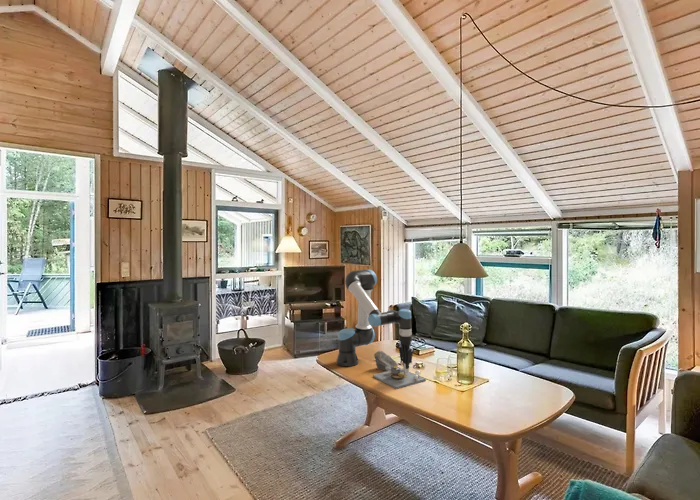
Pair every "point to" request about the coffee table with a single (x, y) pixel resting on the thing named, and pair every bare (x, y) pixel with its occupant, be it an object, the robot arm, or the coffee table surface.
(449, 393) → the coffee table surface
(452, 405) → the coffee table surface
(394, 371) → the cam capstan
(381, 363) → the rock
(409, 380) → the stand board
